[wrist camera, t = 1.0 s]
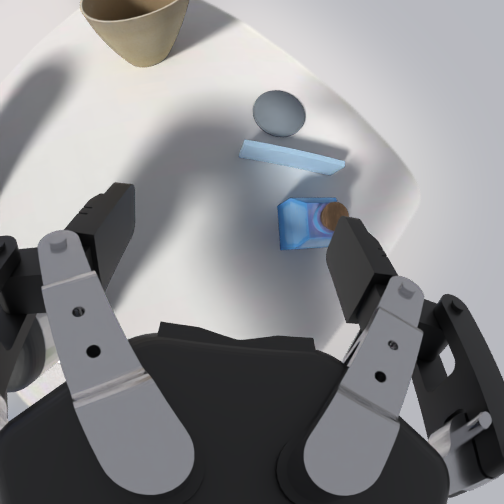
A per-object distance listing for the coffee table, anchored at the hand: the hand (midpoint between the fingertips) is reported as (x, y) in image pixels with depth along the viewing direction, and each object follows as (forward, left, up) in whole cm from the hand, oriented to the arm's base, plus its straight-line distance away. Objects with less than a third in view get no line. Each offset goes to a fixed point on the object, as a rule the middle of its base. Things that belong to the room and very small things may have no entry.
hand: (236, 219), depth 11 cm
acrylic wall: (+13, -9, -30) cm, 34 cm away
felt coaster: (+21, -7, -30) cm, 37 cm away
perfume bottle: (+4, -12, -30) cm, 32 cm away
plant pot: (+30, +16, -30) cm, 45 cm away
